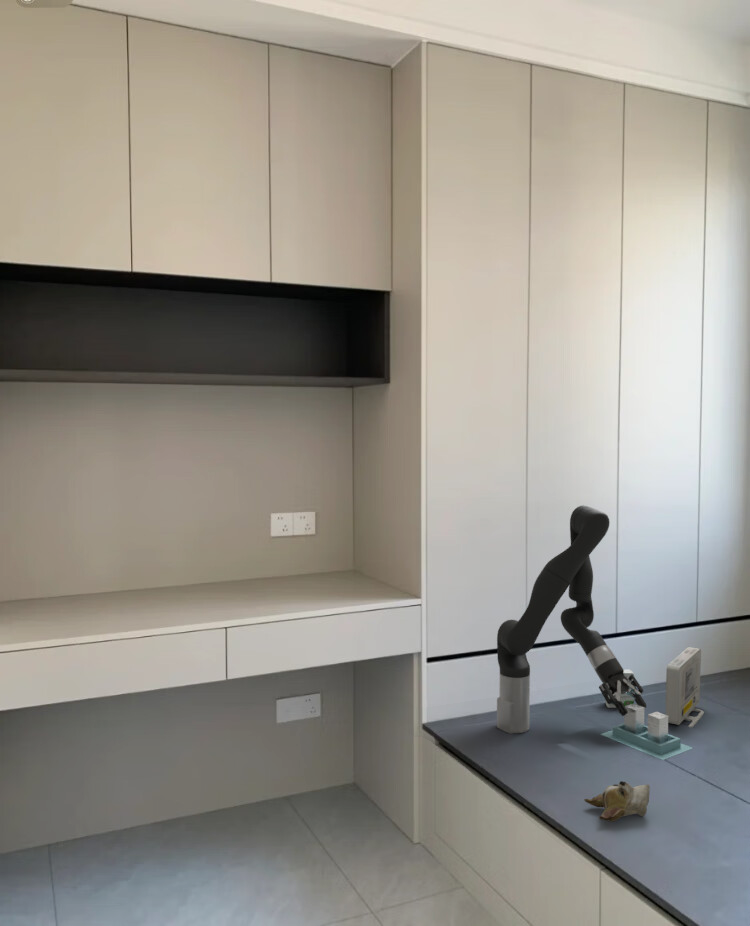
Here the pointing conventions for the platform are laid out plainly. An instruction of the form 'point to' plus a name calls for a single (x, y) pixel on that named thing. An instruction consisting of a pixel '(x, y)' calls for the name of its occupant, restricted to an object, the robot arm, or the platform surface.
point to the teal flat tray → (647, 742)
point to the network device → (683, 687)
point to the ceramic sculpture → (622, 801)
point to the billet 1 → (634, 719)
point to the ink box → (624, 697)
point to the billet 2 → (657, 727)
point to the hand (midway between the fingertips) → (634, 711)
